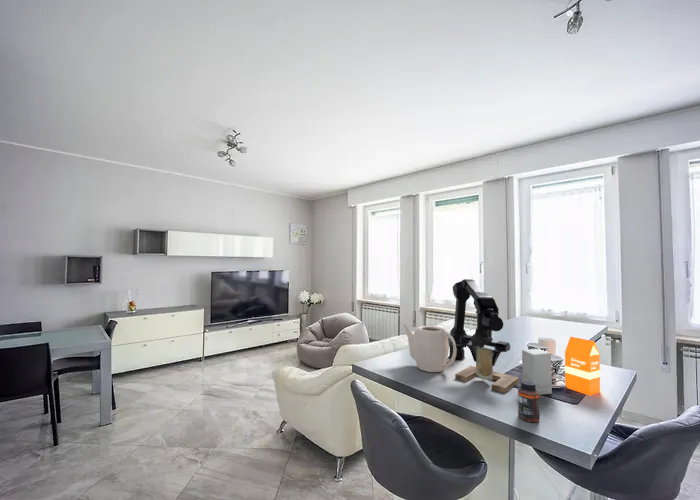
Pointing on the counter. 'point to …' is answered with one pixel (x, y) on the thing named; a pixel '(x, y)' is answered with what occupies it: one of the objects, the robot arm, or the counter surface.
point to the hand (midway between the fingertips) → (484, 363)
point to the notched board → (501, 384)
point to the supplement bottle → (528, 402)
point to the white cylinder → (548, 344)
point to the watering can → (430, 347)
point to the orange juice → (582, 366)
